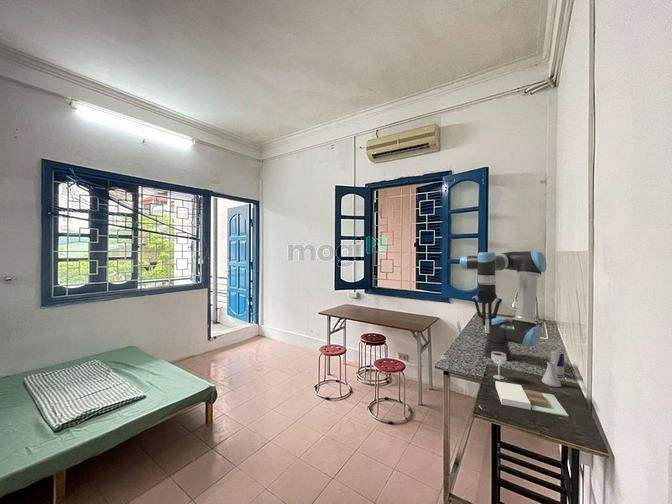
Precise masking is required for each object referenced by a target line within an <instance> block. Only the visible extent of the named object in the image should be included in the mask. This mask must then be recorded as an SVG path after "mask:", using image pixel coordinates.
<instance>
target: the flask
mask: <svg viewBox="0 0 672 504" xmlns="http://www.w3.org/2000/svg"><path fill="white" fill-rule="evenodd" d="M546 364H547V367H546V371H545V372H544V375H543V376H542V379H541V381H542V383H543V384H544V385H546V386H549V387H554V388H559V387H560V388H561V387H563V386H562V384H561V381H560V379H559V377H558V376H557V374H556V370H555V365H556V364H555V363H553V362H551V361H546Z"/></svg>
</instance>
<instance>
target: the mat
mask: <svg viewBox="0 0 672 504" xmlns="http://www.w3.org/2000/svg"><path fill="white" fill-rule="evenodd" d="M541 393H542V395H543V396H544V398H545V399H546V401H547V403H548V408H545V407H540V406H535V405H531V410H532V411H535V412H541V413H547V414H551V415H558V416H563V417H568V418H569V414H568V413H567V411H566V409H565V408H564V407H563V406H562V404H561V403H560V402H559V401H558V399H557V398H556V396H555V394H551V393H545V392H541Z"/></svg>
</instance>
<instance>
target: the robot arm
mask: <svg viewBox="0 0 672 504" xmlns="http://www.w3.org/2000/svg"><path fill="white" fill-rule="evenodd" d="M546 259H547V258H546V257H545V254H544V253H542V252H541V251H532V250H529V251H507V252H501V253H500V252H499V253H495V252H493V251H492V252H491V251H490V252H489V251H488V252H487V251H486V252H483V251H481V252H478V253H477V255H462V256H460V258H459V267H460V268H462V269H463V270H474V271H475V270H477V283H478V284H477V293H476V295H475V296H472V297H471V299H472V301H473V302H474V306H475V309H476V312H477V316H478V317H479V318H480V319H482V320H481V321H482V322H481V323H482V326H484V333H485V334H486V335H485V336H486V342H485V344H484V347H483V351H482V352H483V355H484V356H485V357H487V358H490V359H491V355H492V353H491V352H492V351H499V352H503V353H505V354H506V358H507V361H511V360H512V359H513V353H512V350H511V348H510V343H512V344H513V343H514V344H517V345H522V346H524V347H530V348H534V347H536V346H537V345H538V343H539V342H540V339H541V334H542V332H541V328H540V327H539V326H538V323H537V322H536V320H535V314H536V313H535V312H536V311H535V310H536V301H537V300H536V299H537V291H538V290H537V289H538V280H539V279H538V278H539V277H541V276H542V273H543V272H546V271H547V260H546ZM504 270H508V271H516V274H517V275H518V276H519V278H518V279H519V280H518V290H517V299H516V306H515V307H516V309H515V316H514V317H512V319H511V321H510V320H509V318H508V317H505V316H504V317H503V316H497V315H498V312H499V309H500V304H501V303H502V302H503V299H502V298H501V297H498V296H497V293H496V291H497V289H496V288H497V287H496V281H497V280H496V271H498V272H500V271H504ZM478 301H480V302H481V310H480V306H479V303H478ZM494 301H495V302H496V303H495V305H494V308H493V313H492V305H493V303H494ZM486 305H487V309H486ZM486 310H487V312H486ZM486 313H487V317H488V318H487V317H486ZM509 342H510V343H509Z"/></svg>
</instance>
